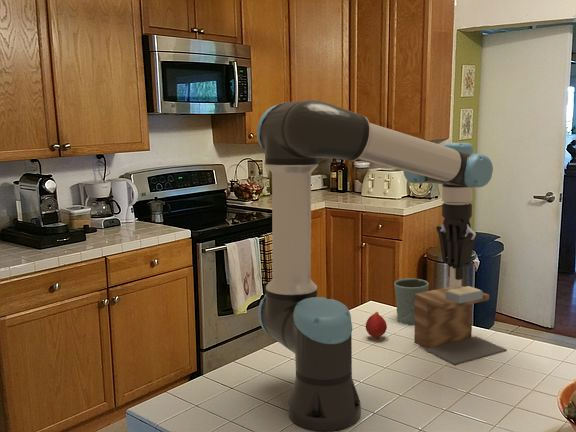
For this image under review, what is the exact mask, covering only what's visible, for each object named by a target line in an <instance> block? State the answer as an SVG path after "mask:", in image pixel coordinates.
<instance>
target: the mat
mask: <svg viewBox="0 0 576 432" xmlns="http://www.w3.org/2000/svg"><path fill="white" fill-rule="evenodd" d="M424 351H425V352H427V353H429V354H431V355H433V356H435V357H436V358H439V359H441V360H443V361H445V362H447V363H449V364H451V365H454V366H456V365H457V366H458V365H460V364H463V363H467V362H470V361H474V360H478V359H479V360H480V359H481V358H485V357H489V356H493V355H496V354H501V353H504V352H507V351H508V349H507V348H504V347H502V346H500V345H497V344H495V343H492V342H490V341H487V340H485V339H483V338H480V337H478V336H471V338H467V339H463V340H459V341H455V342H451V343H447V344H443V345H439V346H435V347H431V348H427V349H425V348H424Z"/></svg>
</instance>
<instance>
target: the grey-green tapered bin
mask: <svg viewBox="0 0 576 432" xmlns="http://www.w3.org/2000/svg"><path fill="white" fill-rule="evenodd" d="M393 284H394V291H395V294H394V295H395V301H396V302H395V304H396V317H397V322H398V323H400V322H401V323H400V324H402V323H403V325H406V324H408V325H407V326H415V294H416V293H422V292H427V291H429V286H430V285H429V284H430V283H429V282H428V281H427V280H424V279H420V278H411V277H410V278H400V279H397V280H395V281H394V282H393Z"/></svg>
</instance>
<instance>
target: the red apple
mask: <svg viewBox="0 0 576 432" xmlns="http://www.w3.org/2000/svg"><path fill="white" fill-rule="evenodd" d="M387 329H388V323H387V321H386V320H385V319H384V317H383V316H382V315H380V314H379V311H375V312H374V313H373V314H371V315H370V316H369V317H368V319H367V320H366V322H365V331H366V332H367V333H368V335H370V337H372V338H374V339H375V340H379V339H380V338H381V337H382V336H384V335H385V333H386V331H387Z"/></svg>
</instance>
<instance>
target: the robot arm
mask: <svg viewBox="0 0 576 432" xmlns="http://www.w3.org/2000/svg"><path fill="white" fill-rule="evenodd" d="M256 137H257V141H258V144H259V145H260V147H261V149H262V150H263V151H264V166H265V167H266V168H267V169H268V170H269V171H270V172H271V175H272V176H271V179H272V180H271V183H272V185H271V187H272V188H271V189H272V190H271V192H272V193H271V195H272V196H271V203H272V204H271V205H272V206H271V207H272V208H271V209H272V210H271V211H272V213H271V214H272V215H271V216H272V217H271V218H272V224H271V225H272V226H271V227H272V229H271V230H272V237H271V238H272V240H271V241H272V248H271V249H272V255H271V256H272V279H271V280H270V281H269V282H268V283H267V284H266V285H265V294H264V297H263V298H262V299H261V300H260V302H259V305H258V309H257V310H258V311H257V316H258V321H259V324H260V326H261V328H262V330H263V331H264V332H265V333H266V334H267V335H268V337H270V338H271V339H272V340H273V341H275V342H277V343H279V344H281V345H282V346H283V347H285V348H286V349H287V350H289V351H291V352H292V353H293V354H294V357H295V360H294V361H295V379H294V382H293V386H292V390H291V393H290V397H289V399H288V405H287V407H288V408H287V409H288V417H289V418H290V420H291V421H292V422H293V423H294V424H296V425H297V426H299V427H302V428H305V429H308V430H312V431H318V432H319V431H320V432H321V431H323V432H329V431H330V432H331V431H339V430H342V429H346V428H348V427H350V426H352V425H354V424H356V422H358V421H359V420H360V418H361V411H362V409H361V408H362V407H361V406H362V405H361V400H360V398H359V394H358V392H357V388H356V385H355V383H354V379H353V372H352V371H353V368H352V367H353V366H352V365H353V364H352V362H353V357H352V355H353V354H352V347H353V345H352V343H353V342H352V341H353V340H352V336H353V335H352V334H353V333H352V332H353V323H352V316H351V312H350V310H349V308H348V307H347V306H346V305H345V304H344V303H343V302H340V301H339V300H335V299H333V298H329V299H327V298H326V297H321V296H318V285H317V284H316V283H315V282H314V281H313V279H312V278H311V277H312V276H311V270H312V269H311V267H312V266H311V259H312V258H311V257H312V255H311V254H312V251H311V249H312V245H311V244H312V235H311V234H312V173H313V171H314V170H315V169H317V168H318V166H319V159H322V158H323V159H335V160H336V159H339V160H343V161H348V162H355V161H357V160H362V161H367V162H369V163H373V164H377V165H382V166H385V167H389V168H393V169H397V170H401V171H403V175H404V177H405V179H406V180H407V181H408V182H409V183H410V184H419V185H422V184H437V185H441V187H442V191H441V201H442V202H443V203H442V204H441V218H444V219H443V222H442V224H441V225H439V226H436V228H435V229H436V232H437V234H438V238H439V244H440V245H439V246H440V250H441V252H440V253H441V257H442V258H441V259H442V262H443V263H446V265H447V266H448V278H449V287H450V290H452V289H457V288H461V286H462V280H463V278H464V275H463V274H464V268H465V267H469V266H470V265H471V260H472V255H473V252H474V251H473V250H474V245H475V241H476V239H477V237H478V236H479V232H478V231H474V230H473V229H472V228H471V226H472V225H471V221H470V219H471V218H472V216H473V204H472V203H471V202H472V201H473V188H483V187H485V186H487V185H488V184H489V183H490V181H491V180H492V176H493V173H494V167H493V162H492V160H491V159H490V157H488V156H487V155H485V154H481V153H480V154H479V153H477V152H475V153H474V146H473V144H472V143H470V142H445V143H444V144H443V145H442V144H438V143H436V142H432V141H430V140H429V141H428V140H426V139H422V138H421V137H420V138H419V137H416V136H413V135H411V134H407V133H405V132H404V133H403V132H400V131H397V130H394V129H391V128H388V127H384V126H380V125H378V124H375V123H371V122H370V121H369V119H368V117H366V116H365V115H363V114H359V113H358V112H353V111H351V110H349V109H345V108H343V107H340V106H336V105H334V104H331V103H329V102H324V101H322V100H321V101H320V100H314V99H309V100H308V99H307V100H302V101H286V102H281V103H278V104H275V105H273V106H271V107H269V108H268V109H267V110H266V111H264V113H262V115H261V116H260V118H259V120H258V123H257V127H256Z"/></svg>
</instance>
